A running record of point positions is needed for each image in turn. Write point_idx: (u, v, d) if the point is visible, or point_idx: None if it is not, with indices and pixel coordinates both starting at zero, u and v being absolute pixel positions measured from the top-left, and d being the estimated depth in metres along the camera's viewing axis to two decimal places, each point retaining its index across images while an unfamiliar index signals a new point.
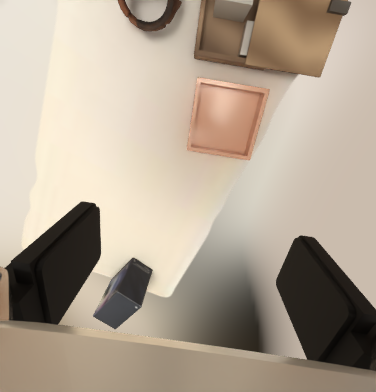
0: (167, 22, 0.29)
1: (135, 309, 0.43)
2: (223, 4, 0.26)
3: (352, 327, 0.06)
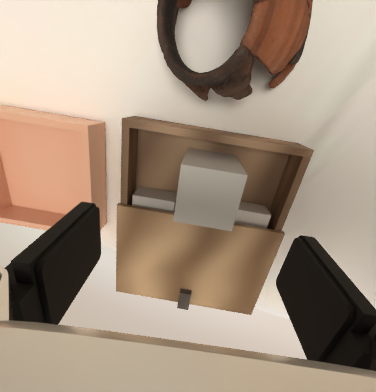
0: None
1: None
2: None
3: (352, 327, 0.06)
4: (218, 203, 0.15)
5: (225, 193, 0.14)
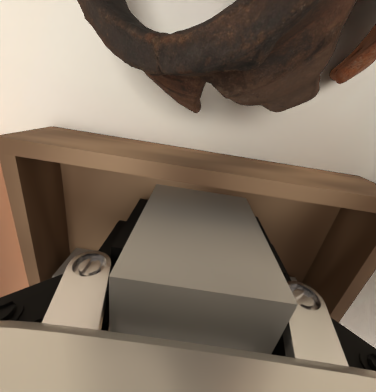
0: None
1: None
2: None
3: None
4: None
5: (233, 337, 0.06)
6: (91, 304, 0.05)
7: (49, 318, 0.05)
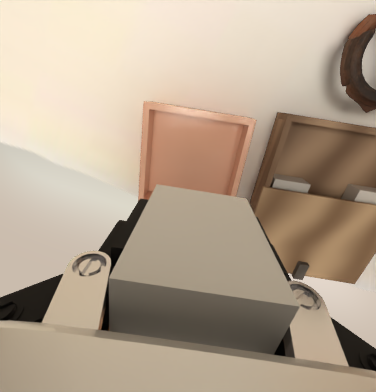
0: (349, 89, 0.19)
1: None
2: None
3: None
4: None
5: (234, 339, 0.05)
6: (91, 304, 0.05)
7: (49, 318, 0.05)
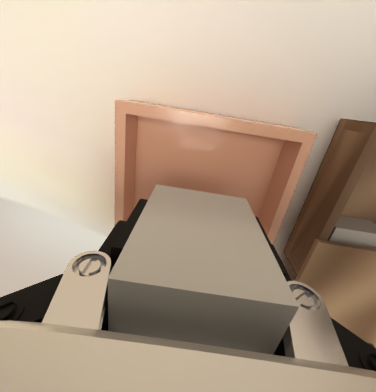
0: None
1: None
2: None
3: None
4: None
5: (233, 340, 0.05)
6: (91, 304, 0.05)
7: (49, 318, 0.05)
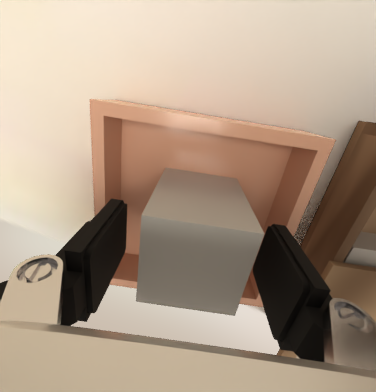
0: None
1: None
2: None
3: (307, 301, 0.07)
4: (212, 275, 0.08)
5: (223, 262, 0.08)
6: (27, 314, 0.05)
7: None
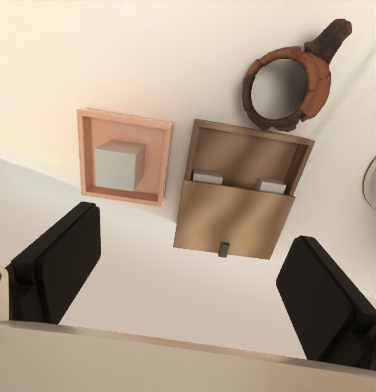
0: (248, 114, 0.25)
1: None
2: None
3: (352, 327, 0.06)
4: (121, 172, 0.24)
5: (124, 166, 0.24)
6: None
7: None
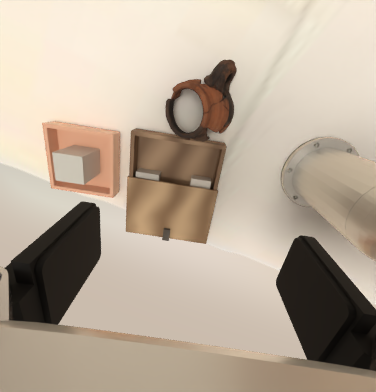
0: None
1: None
2: None
3: (352, 327, 0.06)
4: (73, 170, 0.32)
5: (75, 165, 0.32)
6: None
7: None
